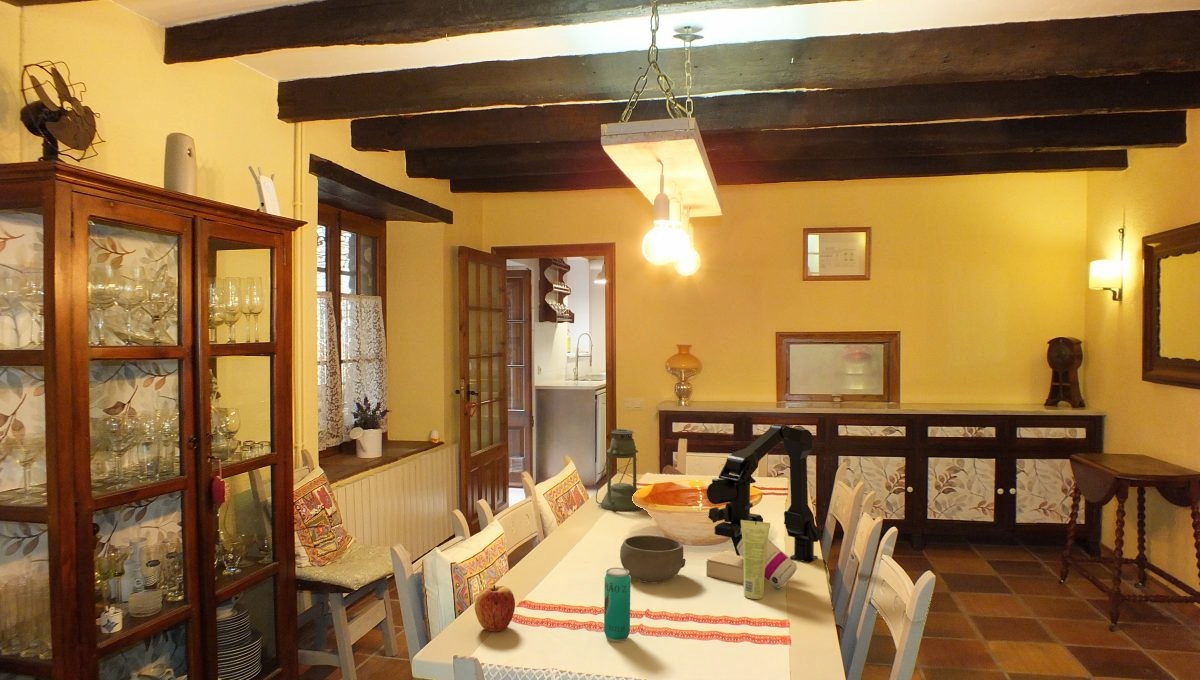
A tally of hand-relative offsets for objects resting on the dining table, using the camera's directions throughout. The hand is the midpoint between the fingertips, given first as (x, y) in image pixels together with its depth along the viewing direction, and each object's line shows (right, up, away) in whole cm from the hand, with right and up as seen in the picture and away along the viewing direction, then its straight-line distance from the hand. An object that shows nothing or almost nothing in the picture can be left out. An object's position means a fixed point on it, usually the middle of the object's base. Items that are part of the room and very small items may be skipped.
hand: (738, 555), depth 214 cm
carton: (0, -6, 0) cm, 6 cm away
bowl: (-25, -6, -3) cm, 25 cm away
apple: (-63, -6, -40) cm, 75 cm away
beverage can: (-35, -6, -45) cm, 57 cm away
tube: (+1, -6, -17) cm, 18 cm away
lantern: (-31, -5, +84) cm, 89 cm away
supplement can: (+11, -3, -12) cm, 17 cm away
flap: (+2, -1, +3) cm, 4 cm away
